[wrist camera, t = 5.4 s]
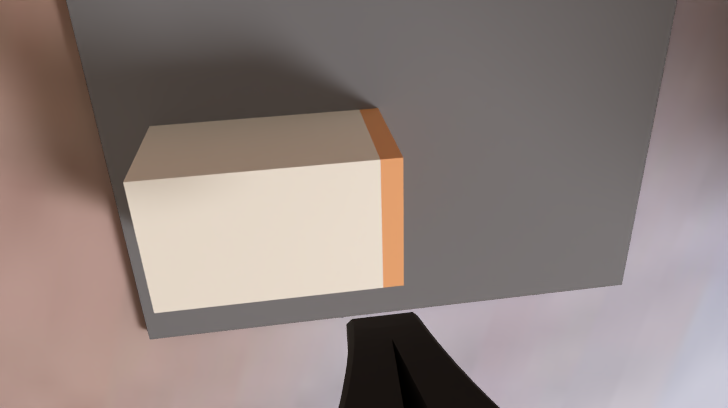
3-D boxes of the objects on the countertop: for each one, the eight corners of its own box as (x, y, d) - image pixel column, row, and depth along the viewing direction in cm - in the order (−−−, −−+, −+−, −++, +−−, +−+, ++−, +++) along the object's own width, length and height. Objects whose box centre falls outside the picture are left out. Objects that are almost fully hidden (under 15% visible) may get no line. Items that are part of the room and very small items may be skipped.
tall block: (403, 157, 16) (123, 182, 15) (403, 285, 18) (154, 313, 17) (377, 108, 19) (149, 126, 19) (380, 219, 21) (172, 239, 21)
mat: (677, -45, 19) (685, -44, 19) (616, 278, 25) (621, 284, 24) (67, -12, 17) (63, -10, 17) (151, 332, 23) (149, 339, 22)
